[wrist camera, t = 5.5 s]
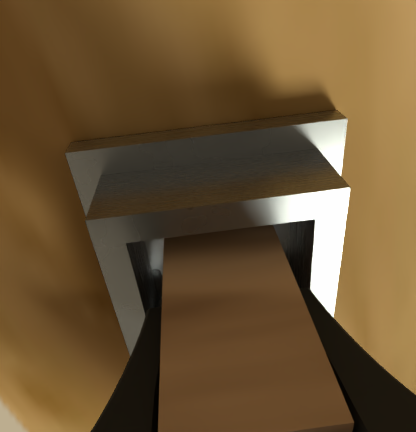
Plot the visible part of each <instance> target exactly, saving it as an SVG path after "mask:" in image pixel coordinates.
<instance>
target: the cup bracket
mask: <svg viewBox="0 0 416 432" xmlns="http://www.w3.org/2000/svg"><path fill="white" fill-rule="evenodd" d="M346 127H347V118H346V117H345V116H344V115H342V114H341V113H340V112H339V111H338V110H333V111H325V112H317V113H309V114H300V115H292V116H284V117H276V118H267V119H259V120H251V121H243V122H234V123H226V124H218V125H210V126H201V127H193V128H185V129H177V130H168V131H160V132H152V133H144V134H136V135H127V136H119V137H111V138H103V139H94V140H86V141H78V142H71V144H70V145H69V147H68V149H67V151H66V152H65V155H66V158H67V161H68V164H69V167H70V170H71V173H72V176H73V179H74V182H75V185H76V188H77V191H78V194H79V197H80V200H81V203H82V206H83V209H84V212H85V216H86V219H85V222H86V225H87V228H88V231H89V234H90V237H91V240H92V243H93V246H94V249H95V252H96V255H97V258H98V261H99V264H100V267H101V270H102V273H103V276H104V279H105V282H106V285H107V288H108V291H109V294H110V297H111V300H112V303H113V306H114V309H115V312H116V315H117V318H118V321H119V324H120V327H121V330H122V333H123V336H124V339H125V342H126V345H127V348H128V351H129V354H130V356H131V354H132V352H133V349H134V347H135V344H136V342H137V339H138V337H139V334H140V331H141V328H142V326H143V322H144V319H145V316H146V312H147V310H148V309H149V308H155V307H162V282H163V249H164V238H170V237H178V236H186V235H194V234H202V233H210V232H218V231H226V230H234V229H241V228H249V227H257V226H265V225H273V226H274V228H275V231H276V233H277V236H278V238H279V241H280V243H281V246H282V248H283V250H284V253H285V255H286V258H287V260H288V263H289V265H290V267H291V270H292V272H293V275H294V277H295V280H296V282H297V284H298V287H299V289H302V288H308V289H310V290H311V291H312V293H313V294H314V295H315V296H316V298H317V299H318V300H319V301H320V303H321V304H322V305H323V306H324V307H325V309H326V310H327V311H328V312H329V313H330V314H331V315H332V317H334V310H335V302H336V294H337V286H338V279H339V271H340V263H341V256H342V248H343V240H344V232H345V225H346V217H347V209H348V202H349V194H350V187H349V185H348V184H347V183H346V182H345V181H344V179H343V178H342V177H341V172H342V163H343V154H344V145H345V136H346Z"/></svg>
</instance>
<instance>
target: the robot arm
mask: <svg viewBox="0 0 416 432" xmlns="http://www.w3.org/2000/svg"><path fill="white" fill-rule="evenodd" d="M300 292H301V294H302V297H303V299H304V301H305V304H306V306H307V309H308V311H309V314H310V316H311V318H312V321H313V323H314V326H315V328H316V331H317V333H318V335H319V338H320V340H321V343H322V345H323V348H324V350H325V352H326V355H327V357H328V360H329V362H330V365H331V367H332V369H333V372H334V374H335V377H336V379H337V382H338V384H339V386H340V389H341V391H342V394H343V396H344V399H345V401H346V404H347V406H348V408H349V411H350V413H351V416H352V418H353V421H354V426H353V431H352V432H416V395H415V394H414V393H412V392H411V391H410V390H409V389H407V388H406V387H405V386H404V385H403V384H401V383H400V382H399V381H398V380H397V379H395V378H394V377H393V376H392V375H391V374H390V373H388V372H387V371H386V370H385V369H384V368H383V367H382V366H381V365H379V364H378V363H377V362H376V361H375V360H374V359H373V358H372V357H371V356H370V355H369V354H368V353H367V352H366V351H365V350H364V349H363V348H362V347H361V346H360V345H359V344H358V343H357V342H356V341H355V340H354V339H353V338H352V337H351V336H350V335H349V334H348V333H347V332H346V331H345V330H344V329H343V328H342V327H341V326H340V324H339V323H338V322H337V321H336V320H335V319H334V318H333V317H332V315H331V314H330V313H329V312H328V311H327V310H326V309H325V307H324V306H323V305H322V304H321V303H320V301H319V300H318V299H317V298H316V296H315V295H314V294H313V293H312V291H311V290H310V289H308V288H302V289H300ZM161 315H162V307H155V308H149V309H148V310H147V312H146V316H145V319H144V322H143V326H142V328H141V331H140V334H139V337H138V339H137V342H136V344H135V347H134V349H133V352H132V354H131V356H130V358H129V361H128V363H127V365H126V368H125V370H124V372H123V374H122V376H121V378H120V380H119V382H118V384H117V386H116V388H115V390H114V392H113V394H112V396H111V398H110V400H109V401H108V403H107V405H106V407H105V409H104V410H103V412H102V414H101V416H100V417H99V419H98V421H97V422H96V424H95V426H94V427H93V429H92V430H91V432H158V414H159V381H160V348H161Z"/></svg>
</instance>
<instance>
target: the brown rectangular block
mask: <svg viewBox="0 0 416 432" xmlns="http://www.w3.org/2000/svg"><path fill="white" fill-rule="evenodd" d="M353 426H354V421H353V418H352V416H351V413H350V411H349V408H348V406H347V404H346V401H345V399H344V396H343V394H342V391H341V389H340V386H339V384H338V382H337V379H336V377H335V374H334V372H333V369H332V367H331V365H330V362H329V360H328V357H327V355H326V352H325V350H324V348H323V345H322V343H321V340H320V338H319V335H318V333H317V331H316V328H315V326H314V323H313V321H312V318H311V316H310V314H309V311H308V309H307V306H306V304H305V301H304V299H303V297H302V294H301V292H300V289H299V287H298V284H297V282H296V280H295V277H294V275H293V272H292V270H291V267H290V265H289V263H288V260H287V258H286V255H285V253H284V250H283V248H282V246H281V243H280V241H279V238H278V236H277V233H276V231H275V228H274V226H273V225H265V226H257V227H249V228H241V229H234V230H226V231H218V232H210V233H202V234H194V235H186V236H178V237H170V238H164V249H163V282H162V315H161V348H160V381H159V414H158V432H352V431H353Z"/></svg>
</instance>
